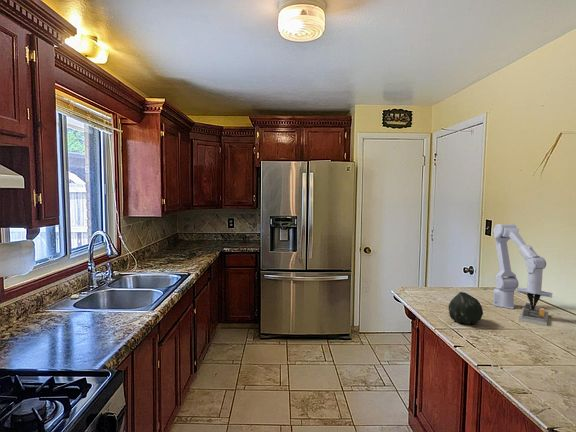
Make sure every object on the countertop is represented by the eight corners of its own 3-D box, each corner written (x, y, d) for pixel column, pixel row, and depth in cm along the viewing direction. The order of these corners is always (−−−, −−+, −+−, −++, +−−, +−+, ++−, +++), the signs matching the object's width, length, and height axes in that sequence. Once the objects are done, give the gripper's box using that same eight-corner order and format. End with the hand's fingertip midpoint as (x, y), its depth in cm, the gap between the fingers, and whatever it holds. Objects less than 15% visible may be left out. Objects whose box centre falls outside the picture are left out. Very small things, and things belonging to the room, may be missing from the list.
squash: (489, 309, 176) (467, 283, 180) (489, 320, 163) (465, 292, 167) (463, 324, 182) (442, 299, 186) (461, 335, 169) (439, 308, 173)
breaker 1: (525, 310, 187) (525, 304, 187) (525, 309, 189) (526, 302, 189) (529, 311, 186) (530, 304, 186) (530, 310, 188) (530, 303, 188)
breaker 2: (523, 316, 179) (523, 309, 178) (523, 314, 180) (524, 308, 180) (528, 317, 177) (528, 310, 177) (528, 315, 179) (528, 309, 179)
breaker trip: (538, 315, 179) (539, 308, 179) (539, 314, 181) (539, 307, 181) (544, 316, 178) (544, 309, 178) (544, 315, 180) (544, 308, 180)
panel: (518, 320, 177) (518, 316, 177) (522, 310, 193) (522, 306, 192) (546, 325, 171) (546, 321, 171) (548, 315, 186) (548, 310, 186)
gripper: (516, 281, 182) (514, 308, 183) (552, 286, 173) (550, 314, 174) (518, 278, 187) (516, 304, 189) (553, 283, 179) (551, 310, 180)
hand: (532, 309), depth 182 cm, fingers closed
